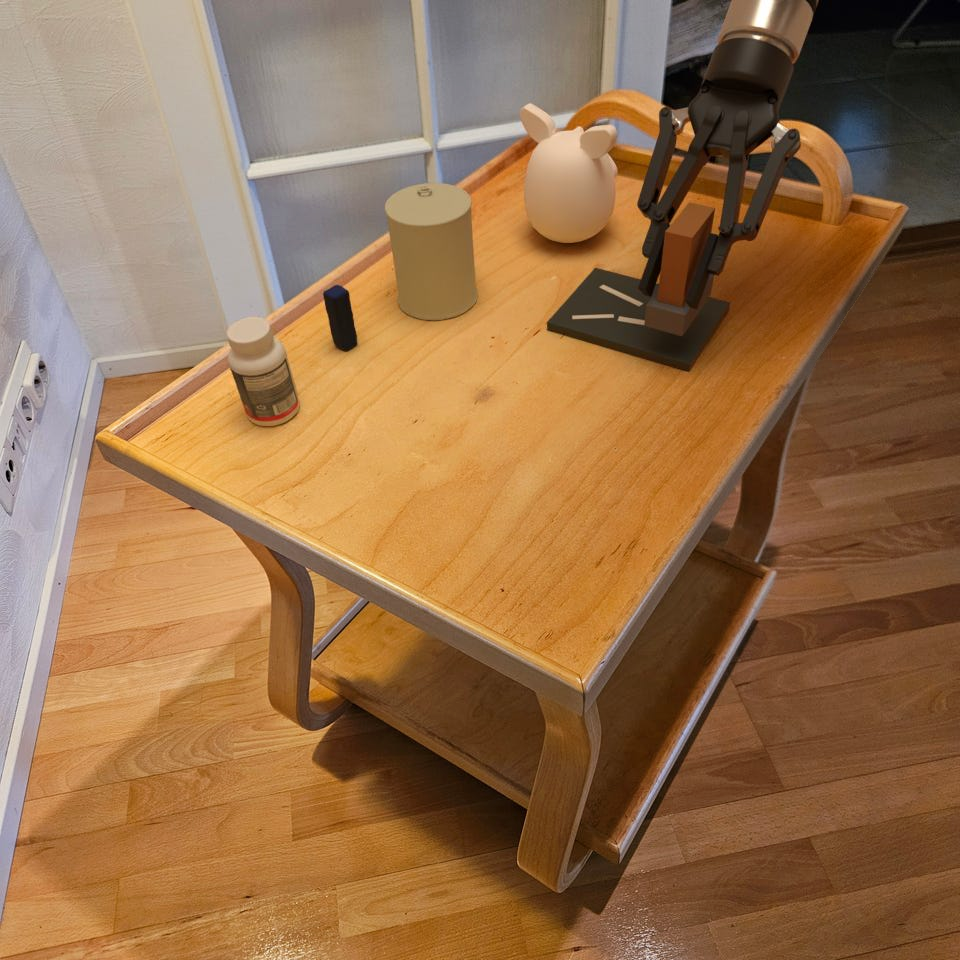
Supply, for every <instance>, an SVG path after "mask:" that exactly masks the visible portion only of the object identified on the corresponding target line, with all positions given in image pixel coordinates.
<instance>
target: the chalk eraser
mask: <svg viewBox="0 0 960 960" xmlns="http://www.w3.org/2000/svg"><path fill="white" fill-rule="evenodd" d="M715 213H716V208H715V207H713V206H709V205H703V204H699V203H694V202H688V203H687V204H686V206H684V208H683V209H682V210H681V212H679V214H678V215H677V216H676V218H674V220H672V223H670V226H669V228H668V229H667V230H666V231H665V238H664V246H663V255H662V264H661V271H660V274H659V282H658V284H659V289H658V290H657V292H656V293H655V294H654V296H653V297H652V298H651V299H650V301H649V302H648V303H647V305H646V313H645V323H644V326H647V327H650V328H654V329H657V330H661V331H665V332H668V333H672V334H675V335H679V336H683V335H684V333H685V332H686V330H687V329H688V327H689V326H690V325H691V323H692V322H693V320H694V319H695V317H696V316H697V314H698V313H699V311H700V310H701V309H702V307H703V306H704V304H705V303H706V301H707V300H708V298H709V297H711V295H712V291H713V284H714V279H715V275H713V274H710V276H709V278H708V281H707V284H706V287H705V289H704V292H703V295H702V298H701V300H700V303H699V306H698V309H694V308H690V307H689V306H688V304H687V303H686V301H685V299H686V296H687V293H688V291H689V288H690V285H691V282H692V280H693V277H694V274H695V271H696V268H697V266H698V263H699V260H700V257H701V255H702V252H703V249H704V246H705V244H706V241H707V238H708V235H709V233H712V232H713V225H714V219H715Z"/></svg>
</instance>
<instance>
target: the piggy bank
mask: <svg viewBox="0 0 960 960" xmlns="http://www.w3.org/2000/svg"><path fill="white" fill-rule="evenodd" d="M519 117H520V121H521V124H522V127H523V128H524V130H525V132H526V133H527V134H528V136H529V137H530V138H531V139H532V140H533V141H535V142H536V143H538V144H537V145H536V146H535V148H534V149H533V151H532V153H531V155H530V158H529V160H528V163H527V167H526V173H525V176H524V177H525V178H524V185H523V201H524V202H523V203H524V209H525V213H526V217H527V220H529V221H528V222H529V223H530V224H531V226H532V228H534V230H535V231H537V233H539V234H540V235H541V236H542V237H544V238H546V239H548V240H550V241H553V242H556V243H563V244H573V243H579V242H583V241H586V240H589V239H591V238H592V237H594V236H596V235H598V234H599V233H600V232H601V231H602V230H603V229H604V228H605V227H606V226H607V224H608V223H609V221H610V219H611V217H612V215H613V212H614V210H615V205H616V196H617V195H616V193H617V192H616V191H617V190H616V178H617V176H618V173H619V172H618V167H617V165H616V163H615V161H614V160H613V158H612V157H611V155H610V154H609V152H610V151H611V150H613V148H614V147H615V145H616V143H617V141H618V140H617V139H618V130H617V128H616V126H614V125H613V124H603V125H595V126H592V127H591V126H590V127H589V128H587V130H585V131H584V128H583V127H582V126H581V125H579V126H576V128H574V129H570V130H562V131H561V130H560V131H557V129H556V128H557V127H556V123H555V121H554V119H553V118H552V116H551V115H550V114H548V113H547V112H546V111H545V110H543V109H541V108H540V107H538V106H537V105H535V104H534V103H531V102H530V103H527V104H526V105H524V106H523V107H521V109H520V111H519ZM556 131H557V132H556Z"/></svg>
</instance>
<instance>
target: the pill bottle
mask: <svg viewBox="0 0 960 960" xmlns="http://www.w3.org/2000/svg"><path fill="white" fill-rule="evenodd" d="M226 338H227V341H228V344H229V347H230V349H229V351H228V354H227V362H228V363H227V364H228V366H229V369H230V372H231V374H232V378H233V380H234V383H235V386H236V388H237V392H238V395H239V398H240V401H241V404H242V406H243V409H244V411H245V414H246V417H247V418H248V420H250V422H252V423H253V424H255V425H257V426H262V427H273V426H279V425H281V424H285V423H286V422H289V420H291V419H292V418H293V417H294V416H296V415H297V413H298V411H299V410H300V407H301V401H300V397H299V393H298V389H297V385H296V381H295V379H294V376H293V372H292V370H291V365H290V362H289V358H288V354H287V351H286V348H285V345H284V344H283V342H282V341H281V340H280V339H279V338H277V337H276V336H274V332H273V330H272V326H271V324H270V322H269V321H268V320H266V319H265V318H263V317H261V316H259V317H258V316H249V317H244V318H241V319H238V320H236V321H234V322H233V323H231V324H230V326H229V327H228V328H227V330H226Z"/></svg>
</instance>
